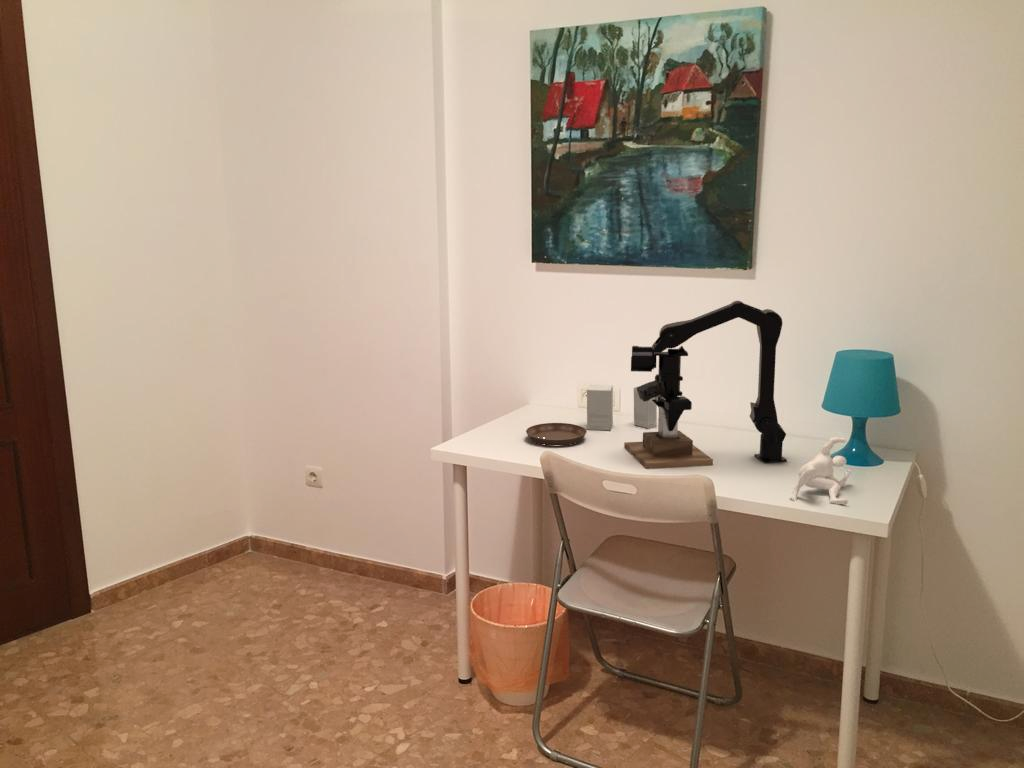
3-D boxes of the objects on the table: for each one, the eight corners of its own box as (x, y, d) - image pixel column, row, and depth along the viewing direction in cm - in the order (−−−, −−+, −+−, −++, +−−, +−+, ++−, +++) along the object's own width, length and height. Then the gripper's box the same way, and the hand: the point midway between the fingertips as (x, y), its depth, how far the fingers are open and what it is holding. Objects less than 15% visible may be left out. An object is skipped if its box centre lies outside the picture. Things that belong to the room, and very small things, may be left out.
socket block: (712, 465, 219) (713, 444, 217) (646, 468, 216) (646, 448, 215) (685, 444, 238) (686, 425, 237) (624, 447, 235) (624, 428, 234)
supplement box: (613, 425, 260) (613, 385, 258) (610, 431, 253) (611, 390, 250) (589, 423, 262) (589, 384, 259) (586, 429, 255) (586, 389, 252)
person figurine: (842, 462, 184) (844, 429, 199) (782, 468, 189) (789, 435, 205) (852, 515, 187) (853, 478, 203) (793, 518, 193) (799, 482, 208)
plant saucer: (573, 451, 233) (573, 441, 232) (516, 444, 240) (516, 434, 240) (595, 436, 249) (595, 426, 248) (540, 430, 256) (540, 420, 255)
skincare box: (657, 426, 258) (658, 388, 255) (647, 429, 255) (648, 390, 252) (642, 422, 262) (643, 385, 260) (632, 425, 259) (633, 387, 257)
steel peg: (677, 444, 225) (678, 408, 223) (662, 445, 224) (663, 409, 222) (672, 440, 228) (673, 405, 226) (657, 441, 228) (658, 405, 226)
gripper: (629, 366, 230) (628, 421, 233) (651, 380, 212) (650, 439, 215) (668, 365, 232) (667, 419, 235) (693, 378, 214) (691, 437, 217)
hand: (667, 428), depth 225 cm, fingers closed on steel peg, 4 cm apart
